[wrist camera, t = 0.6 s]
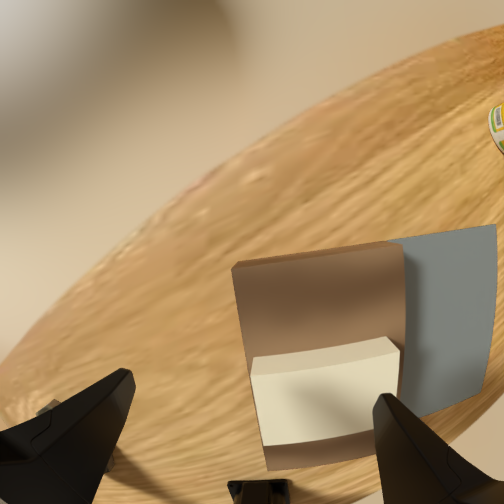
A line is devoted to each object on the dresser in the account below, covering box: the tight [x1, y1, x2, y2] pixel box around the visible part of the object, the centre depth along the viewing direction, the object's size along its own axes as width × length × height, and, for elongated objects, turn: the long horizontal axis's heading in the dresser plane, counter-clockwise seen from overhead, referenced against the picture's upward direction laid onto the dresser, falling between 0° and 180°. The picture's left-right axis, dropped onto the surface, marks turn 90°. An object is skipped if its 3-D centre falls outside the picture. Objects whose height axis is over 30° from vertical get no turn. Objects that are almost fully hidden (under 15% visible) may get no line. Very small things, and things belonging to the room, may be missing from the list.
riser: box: [231, 241, 406, 471], centre depth 19 cm, size 18×11×4 cm, turn 8°
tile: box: [250, 336, 400, 446], centre depth 16 cm, size 6×9×2 cm, turn 98°
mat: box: [387, 224, 497, 418], centre depth 20 cm, size 18×12×1 cm
